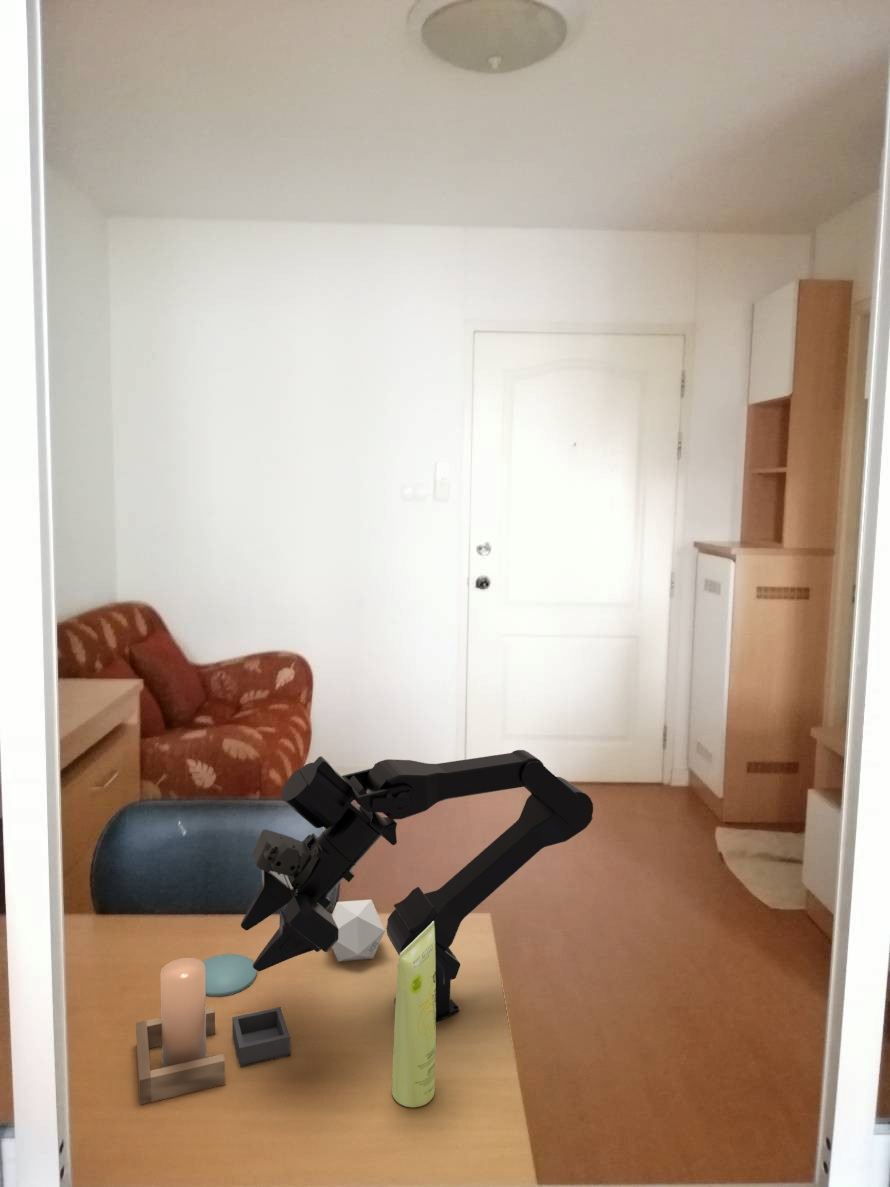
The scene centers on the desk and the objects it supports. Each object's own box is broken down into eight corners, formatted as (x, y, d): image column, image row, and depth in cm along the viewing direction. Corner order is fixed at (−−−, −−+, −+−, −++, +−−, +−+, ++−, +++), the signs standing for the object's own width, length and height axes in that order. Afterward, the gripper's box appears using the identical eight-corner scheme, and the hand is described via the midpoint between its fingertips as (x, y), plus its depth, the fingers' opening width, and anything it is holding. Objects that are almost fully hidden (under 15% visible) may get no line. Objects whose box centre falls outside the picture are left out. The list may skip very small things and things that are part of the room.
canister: (212, 1067, 99) (211, 973, 97) (170, 1084, 96) (167, 988, 94) (198, 1043, 103) (196, 953, 101) (157, 1058, 100) (155, 966, 98)
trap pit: (280, 1024, 107) (280, 1006, 106) (290, 1055, 101) (290, 1036, 101) (232, 1035, 104) (232, 1017, 104) (239, 1067, 99) (239, 1048, 99)
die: (366, 982, 117) (400, 918, 120) (313, 952, 117) (348, 888, 119) (361, 969, 125) (392, 909, 128) (311, 941, 124) (344, 881, 127)
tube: (440, 1109, 93) (445, 947, 90) (395, 1116, 92) (399, 952, 89) (429, 1074, 99) (434, 920, 96) (387, 1080, 98) (390, 924, 95)
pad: (267, 982, 115) (267, 978, 115) (203, 1004, 110) (202, 1000, 110) (242, 951, 123) (242, 947, 123) (181, 970, 118) (181, 966, 117)
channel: (213, 1028, 106) (213, 1006, 105) (224, 1084, 96) (224, 1060, 96) (136, 1044, 102) (136, 1022, 102) (140, 1104, 93) (139, 1080, 92)
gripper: (278, 782, 109) (191, 875, 106) (311, 842, 91) (208, 954, 89) (337, 831, 113) (254, 922, 110) (378, 897, 96) (282, 1006, 93)
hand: (249, 947), depth 100 cm, fingers open, 9 cm apart
